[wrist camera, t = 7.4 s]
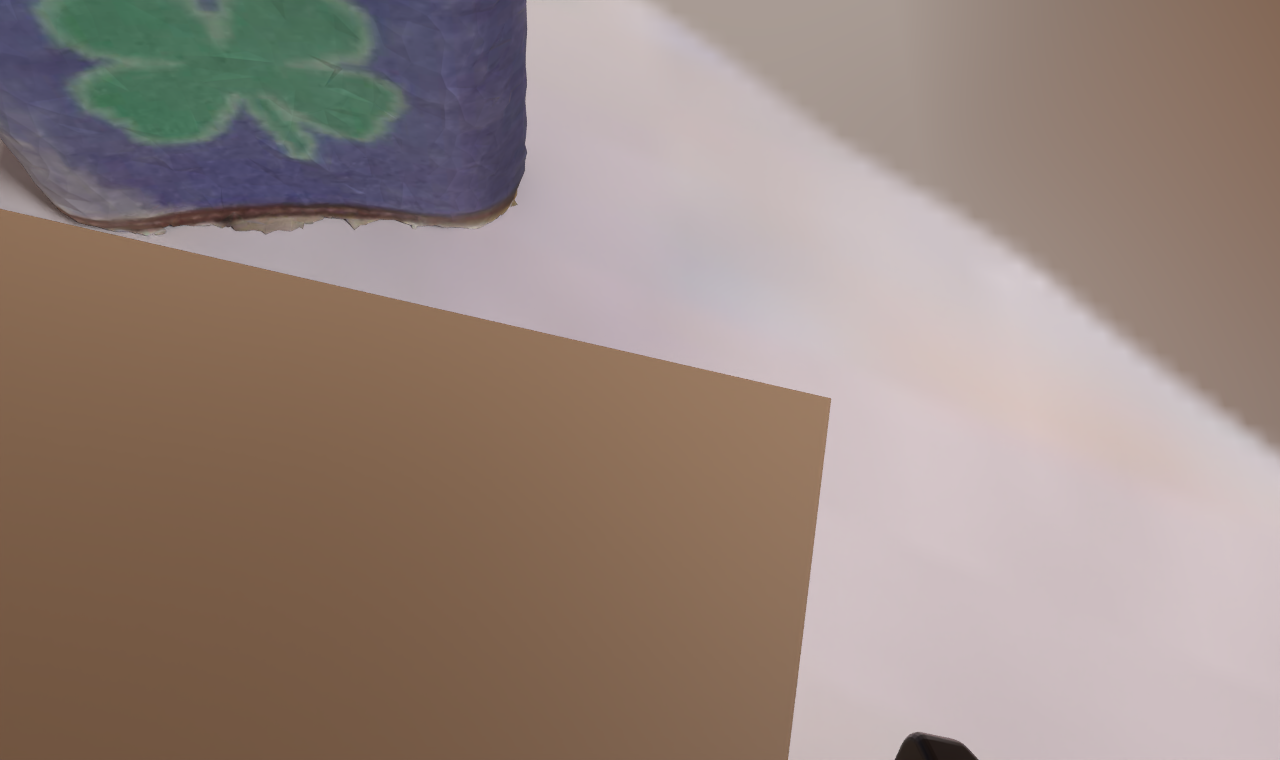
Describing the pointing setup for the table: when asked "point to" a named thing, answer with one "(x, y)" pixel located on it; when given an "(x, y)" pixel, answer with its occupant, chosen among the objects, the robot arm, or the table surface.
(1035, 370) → the table surface
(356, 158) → the flask
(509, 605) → the walnut block
